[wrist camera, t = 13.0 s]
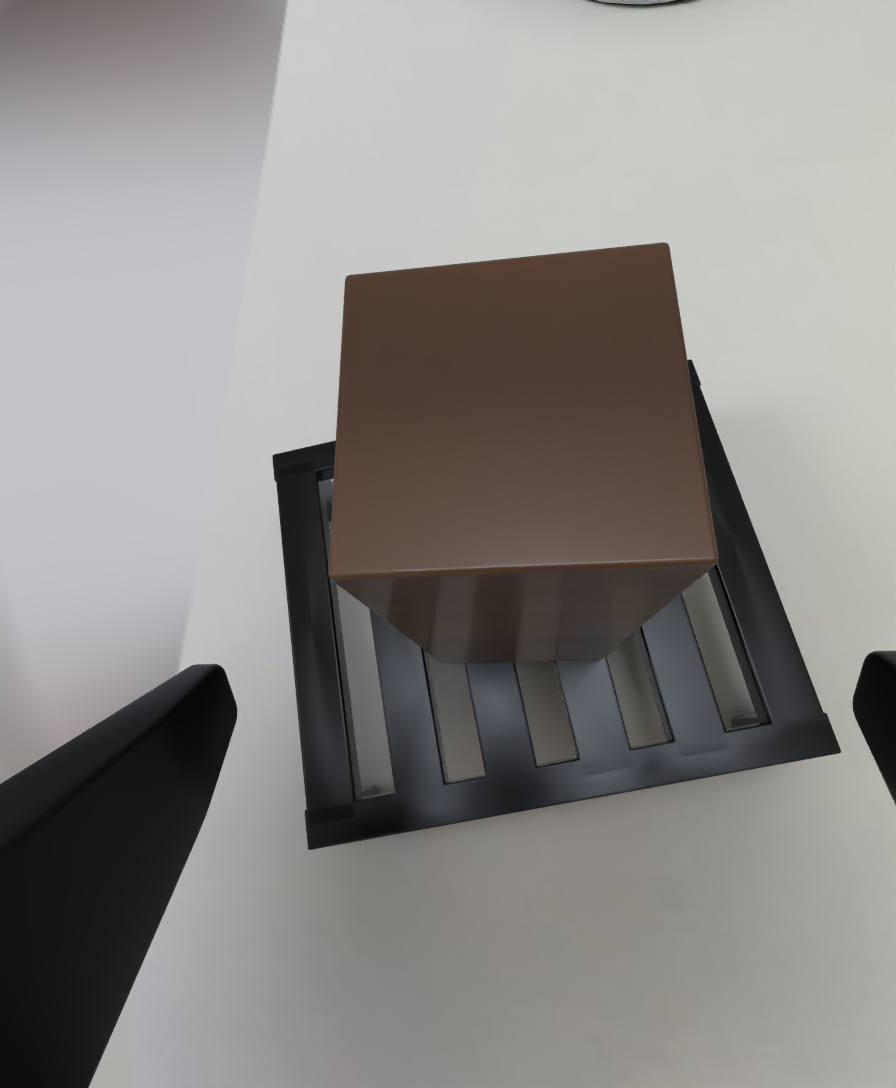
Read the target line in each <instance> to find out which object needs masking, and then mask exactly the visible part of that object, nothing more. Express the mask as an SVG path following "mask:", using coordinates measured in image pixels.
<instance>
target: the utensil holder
mask: <svg viewBox="0 0 896 1088" xmlns="http://www.w3.org/2000/svg"><path fill="white" fill-rule="evenodd" d="M596 1H601V2H608V3H621V4H653V3H663V2H669V1H675V0H596Z"/></svg>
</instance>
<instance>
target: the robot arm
mask: <svg viewBox="0 0 896 1088" xmlns="http://www.w3.org/2000/svg"><path fill="white" fill-rule="evenodd" d="M853 711H854V715H855V718H856V720H857V722H858V725H859V727H860V729H861V731H862V733H863V735H864V738H865V740H866V742H867V744H868V746H869V748H870V750H871V753H872V755H873V757H874V759H875V761H876V763H877V766H878V768H879V770H880V772H881V774H882V776H883V779H884V781H885V783H886V785H887V787H888V789H889V792H890V794H891V796H892V798H893V800H894V802H895V804H896V651H874V652H872V653H870V654H868V655H867V656H866V658H865V660H864V663H863V666H862V669H861V673H860V676H859V679H858V683H857V686H856V689H855V693H854V696H853ZM236 719H237V706H236V702H235V699H234V696H233V693H232V690H231V687H230V684H229V682H228V679H227V676H226V673H225V671H224V669H223V668H222V667H221V666H220V665H217V664H198V665H192V666H190V667H188V668H187V669H185V670H184V671H182V672H180V673H179V674H177V675H175V676H174V677H172V678H171V679H169V680H167V681H166V682H164V683H163V684H161V685H159V686H158V687H156V688H154V689H153V690H151V691H150V692H148V693H146V694H145V695H144V696H142V697H140V698H138V699H137V700H135V701H134V702H132V703H130V704H129V705H127V706H125V707H124V708H122V709H121V710H119V711H117V712H116V713H114V714H113V715H111V716H109V717H108V718H106V719H105V720H103V721H101V722H100V723H98V724H96V725H95V726H93V727H92V728H90V729H88V730H87V731H85V732H83V733H82V734H81V735H79V736H77V737H75V738H74V739H72V740H71V741H69V742H67V743H66V744H64V745H63V746H61V747H59V748H58V749H56V750H54V751H53V752H51V753H50V754H48V755H46V756H45V757H43V758H42V759H40V760H38V761H37V762H35V763H34V764H32V765H30V766H29V767H27V768H25V769H24V770H23V771H21V772H19V773H17V774H16V775H14V776H12V777H11V778H9V779H8V780H6V781H4V782H3V783H1V784H0V1088H88V1087H89V1085H90V1083H91V1081H92V1078H93V1076H94V1074H95V1071H96V1069H97V1067H98V1065H99V1062H100V1060H101V1058H102V1055H103V1053H104V1051H105V1048H106V1046H107V1044H108V1041H109V1039H110V1037H111V1035H112V1032H113V1030H114V1028H115V1025H116V1023H117V1021H118V1018H119V1016H120V1014H121V1011H122V1009H123V1007H124V1004H125V1002H126V1000H127V998H128V995H129V993H130V991H131V988H132V986H133V984H134V981H135V979H136V977H137V974H138V972H139V970H140V968H141V965H142V963H143V961H144V958H145V956H146V954H147V951H148V949H149V947H150V944H151V942H152V940H153V938H154V935H155V933H156V931H157V928H158V926H159V924H160V921H161V919H162V917H163V914H164V912H165V910H166V907H167V905H168V903H169V901H170V898H171V896H172V894H173V891H174V889H175V887H176V884H177V882H178V880H179V877H180V875H181V873H182V871H183V868H184V866H185V864H186V861H187V859H188V857H189V854H190V852H191V850H192V847H193V845H194V843H195V841H196V838H197V836H198V834H199V831H200V829H201V826H202V824H203V821H204V819H205V816H206V813H207V811H208V808H209V805H210V802H211V799H212V796H213V793H214V790H215V786H216V783H217V780H218V777H219V774H220V771H221V768H222V764H223V761H224V758H225V755H226V752H227V749H228V746H229V742H230V739H231V736H232V733H233V730H234V727H235V724H236Z"/></svg>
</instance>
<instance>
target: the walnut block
mask: <svg viewBox="0 0 896 1088" xmlns="http://www.w3.org/2000/svg"><path fill="white" fill-rule="evenodd" d="M718 559H719V557H718V551H717V545H716V539H715V532H714V526H713V520H712V513H711V507H710V501H709V494H708V488H707V482H706V475H705V469H704V463H703V456H702V450H701V444H700V438H699V431H698V425H697V419H696V412H695V406H694V400H693V393H692V387H691V381H690V374H689V368H688V362H687V356H686V349H685V343H684V337H683V330H682V324H681V318H680V311H679V305H678V299H677V292H676V286H675V280H674V274H673V267H672V261H671V255H670V248H669V245H668V244H667V243H655V244H645V245H635V246H626V247H616V248H606V249H597V250H587V251H577V252H568V253H558V254H549V255H539V256H529V257H520V258H510V259H500V260H491V261H481V262H472V263H462V264H452V265H443V266H433V267H423V268H414V269H404V270H395V271H385V272H375V273H366V274H356V275H349V276H347V277H346V279H345V290H344V307H343V325H342V343H341V360H340V378H339V396H338V413H337V431H336V449H335V466H334V484H333V502H332V519H331V537H330V555H329V572H328V575H329V577H330V579H331V580H332V581H334V582H335V583H336V584H338V585H339V586H340V587H342V588H343V589H344V590H346V591H347V592H348V593H350V594H351V595H352V596H354V597H355V598H356V599H358V600H359V601H360V602H362V603H363V604H364V605H365V606H367V607H368V608H369V609H371V610H372V611H373V612H375V613H376V614H377V615H379V616H380V617H381V618H383V619H384V620H385V621H387V622H388V623H389V624H391V625H392V626H393V627H395V628H396V629H397V630H399V631H400V632H401V633H403V634H404V635H405V636H407V637H408V638H409V639H411V640H412V641H413V642H415V643H416V644H417V645H419V646H420V647H421V648H423V649H424V650H425V651H427V652H428V653H429V654H431V655H432V656H433V657H435V658H436V659H437V660H439V661H440V662H441V663H479V662H525V661H570V660H601V659H602V658H604V657H605V656H606V655H607V654H608V653H610V652H611V651H612V650H613V649H614V648H616V647H617V646H618V645H619V644H620V643H622V642H623V641H624V640H625V639H627V638H628V637H629V636H630V635H631V634H633V633H634V632H635V631H636V630H637V629H639V628H640V627H641V626H642V625H643V624H645V623H646V622H647V621H648V620H649V619H651V618H652V617H653V616H654V615H655V614H657V613H658V612H659V611H660V610H661V609H663V608H664V607H665V606H666V605H668V604H669V603H670V602H671V601H672V600H674V599H675V598H676V597H677V596H678V595H680V594H681V593H682V592H683V591H684V590H686V589H687V588H688V587H689V586H690V585H692V584H693V583H694V582H695V581H696V580H698V579H699V578H700V577H701V576H702V575H704V574H705V573H706V572H707V571H709V570H710V569H711V568H712V567H713V566H715V565H716V564H717V562H718Z"/></svg>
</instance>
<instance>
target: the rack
mask: <svg viewBox="0 0 896 1088" xmlns="http://www.w3.org/2000/svg"><path fill="white" fill-rule="evenodd" d="M687 362H688V368H689V374H690V381H691V387H692V393H693V400H694V406H695V412H696V419H697V425H698V431H699V438H700V444H701V450H702V456H703V463H704V469H705V475H706V482H707V488H708V494H709V501H710V507H711V513H712V520H713V526H714V532H715V539H716V545H717V551H718V557H719V559H718V562H717V564H716V565H715V566H713V567H712V568H711V569H710V570H709V571H707V572H708V574H709V577H710V580H711V583H712V586H713V589H714V592H715V595H716V598H717V601H718V604H719V607H720V610H721V612H722V615H723V618H724V621H725V624H726V627H727V630H728V633H729V636H730V639H731V642H732V645H733V648H734V650H735V653H736V656H737V659H738V662H739V665H740V668H741V671H742V674H743V677H744V680H745V683H746V686H747V688H748V691H749V694H750V697H751V700H752V703H753V706H754V709H755V712H756V713H754V714H749V715H743V716H738V717H733V718H732V719H731V721H732V724H733V728H729V729H725V726H724V723H723V720H722V716H721V713H720V710H719V707H718V704H717V701H716V698H715V695H714V692H713V689H712V685H711V682H710V679H709V676H708V673H707V670H706V667H705V664H704V661H703V658H702V654H701V651H700V648H699V645H698V642H697V639H696V636H695V633H694V630H693V627H692V624H691V620H690V617H689V614H688V611H687V608H686V605H685V602H684V599H683V596H682V593H681V594H680V595H678V596H677V597H676V598H675V599H674V600H672V601H671V602H670V603H669V604H668V605H666V606H665V607H664V608H663V609H661V610H660V611H659V612H658V613H657V614H655V615H654V616H653V617H652V618H651V619H649V620H648V621H647V622H646V623H645V624H643V625H642V626H641V627H640V628H639V629H637V630H636V631H635V633H636V636H637V640H638V643H639V647H640V650H641V654H642V657H643V660H644V664H645V667H646V671H647V674H648V678H649V681H650V685H651V688H652V692H653V695H654V698H655V702H656V705H657V709H658V712H659V716H660V719H661V723H662V726H663V730H664V733H665V737H666V740H665V741H660V742H655V743H649V744H644V745H638V746H633V747H630V744H629V740H628V736H627V732H626V729H625V725H624V721H623V718H622V714H621V710H620V706H619V703H618V699H617V695H616V691H615V688H614V684H613V680H612V677H611V673H610V669H609V665H608V662H607V658H606V656H605V657H604V658H602V659H601V660H570V661H553V663H554V667H555V671H556V676H557V680H558V684H559V688H560V692H561V697H562V701H563V705H564V709H565V713H566V718H567V722H568V726H569V730H570V734H571V739H572V743H573V747H574V751H575V755H576V757H574V758H569V759H564V760H558V761H553V762H548V763H542V764H537V763H536V758H535V753H534V749H533V744H532V740H531V735H530V730H529V726H528V721H527V716H526V712H525V707H524V703H523V698H522V693H521V689H520V684H519V680H518V675H517V670H516V666H515V662H479V663H465V668H466V674H467V679H468V684H469V690H470V695H471V700H472V705H473V711H474V716H475V721H476V727H477V732H478V737H479V743H480V748H481V753H482V758H483V764H484V769H485V774H484V775H478V776H473V777H468V778H462V779H457V780H452V781H449V780H448V774H447V768H446V762H445V756H444V750H443V744H442V738H441V732H440V726H439V720H438V714H437V708H436V703H435V697H434V691H433V685H432V679H431V673H430V667H429V661H428V655H427V651H425V650H424V649H423V648H421V647H420V646H419V645H417V644H416V643H415V642H413V641H412V640H411V639H409V638H408V637H407V636H405V635H404V634H403V633H401V632H400V631H399V630H397V629H396V628H395V627H393V626H392V625H391V624H389V623H388V622H387V621H385V620H384V619H383V618H381V617H380V616H379V615H377V614H376V613H375V612H373V611H372V610H371V609H370V615H371V622H372V630H373V637H374V644H375V651H376V658H377V665H378V672H379V680H380V687H381V694H382V701H383V708H384V715H385V723H386V730H387V737H388V744H389V751H390V758H391V766H392V773H393V780H394V787H395V791H393V792H388V793H382V794H379V793H378V787H377V785H372V786H367V787H361V782H360V774H359V766H358V758H357V750H356V741H355V733H354V725H353V717H352V709H351V700H350V692H349V684H348V676H347V668H346V660H345V651H344V643H343V635H342V627H341V619H340V611H339V602H338V594H337V586H336V583H335V582H334V581H332V580H331V579H330V577H329V575H328V572H329V555H330V529H329V521H331V519H332V502H333V483H332V482H331V481H330V479H333V478H334V466H335V449H336V441H332V442H327V443H323V444H319V445H314V446H310V447H305V448H301V449H297V450H292V451H288V452H284V453H279V454H275V455H273V467H274V478H275V481H276V483H277V493H278V504H279V515H280V526H281V536H282V547H283V558H284V569H285V580H286V590H287V601H288V612H289V623H290V633H291V644H292V655H293V666H294V676H295V687H296V698H297V709H298V720H299V730H300V741H301V752H302V763H303V773H304V784H305V795H306V806H307V810H305V820H306V831H307V842H308V849H309V850H312V849H318V848H323V847H329V846H334V845H340V844H345V843H351V842H356V841H362V840H367V839H373V838H378V837H384V836H389V835H394V834H400V833H405V832H411V831H416V830H422V829H427V828H433V827H438V826H444V825H449V824H455V823H460V822H466V821H471V820H477V819H482V818H488V817H493V816H499V815H504V814H510V813H515V812H521V811H526V810H531V809H537V808H542V807H548V806H553V805H559V804H564V803H570V802H575V801H581V800H586V799H592V798H597V797H603V796H608V795H614V794H619V793H625V792H630V791H636V790H641V789H647V788H652V787H658V786H663V785H669V784H674V783H679V782H685V781H690V780H696V779H701V778H707V777H712V776H718V775H723V774H729V773H734V772H740V771H745V770H751V769H756V768H762V767H767V766H773V765H778V764H784V763H789V762H795V761H800V760H806V759H811V758H817V757H822V756H827V755H833V754H838V753H841V750H840V747H839V745H838V742H837V739H836V737H835V734H834V732H833V729H832V726H831V724H830V721H829V718H828V716H827V714H826V713H823V710H822V708H821V705H820V703H819V700H818V697H817V695H816V692H815V689H814V687H813V684H812V681H811V679H810V676H809V673H808V671H807V668H806V666H805V663H804V660H803V658H802V655H801V652H800V650H799V647H798V644H797V642H796V639H795V637H794V634H793V631H792V629H791V626H790V623H789V621H788V618H787V615H786V613H785V610H784V608H783V605H782V602H781V600H780V597H779V594H778V592H777V589H776V586H775V584H774V581H773V578H772V576H771V573H770V571H769V568H768V565H767V563H766V560H765V557H764V555H763V552H762V549H761V547H760V544H759V542H758V539H757V536H756V534H755V531H754V528H753V526H752V523H751V520H750V518H749V515H748V512H747V510H746V507H745V505H744V502H743V499H742V497H741V494H740V491H739V489H738V486H737V483H736V481H735V478H734V476H733V473H732V470H731V468H730V465H729V462H728V460H727V457H726V454H725V452H724V449H723V446H722V444H721V441H720V439H719V436H718V433H717V431H716V428H715V425H714V423H713V420H712V417H711V415H710V412H709V410H708V407H707V404H706V402H705V399H704V396H703V394H702V391H701V388H700V385H701V383H700V380H699V378H698V375H697V373H696V370H695V367H694V365H693V362H692V360H687Z"/></svg>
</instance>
